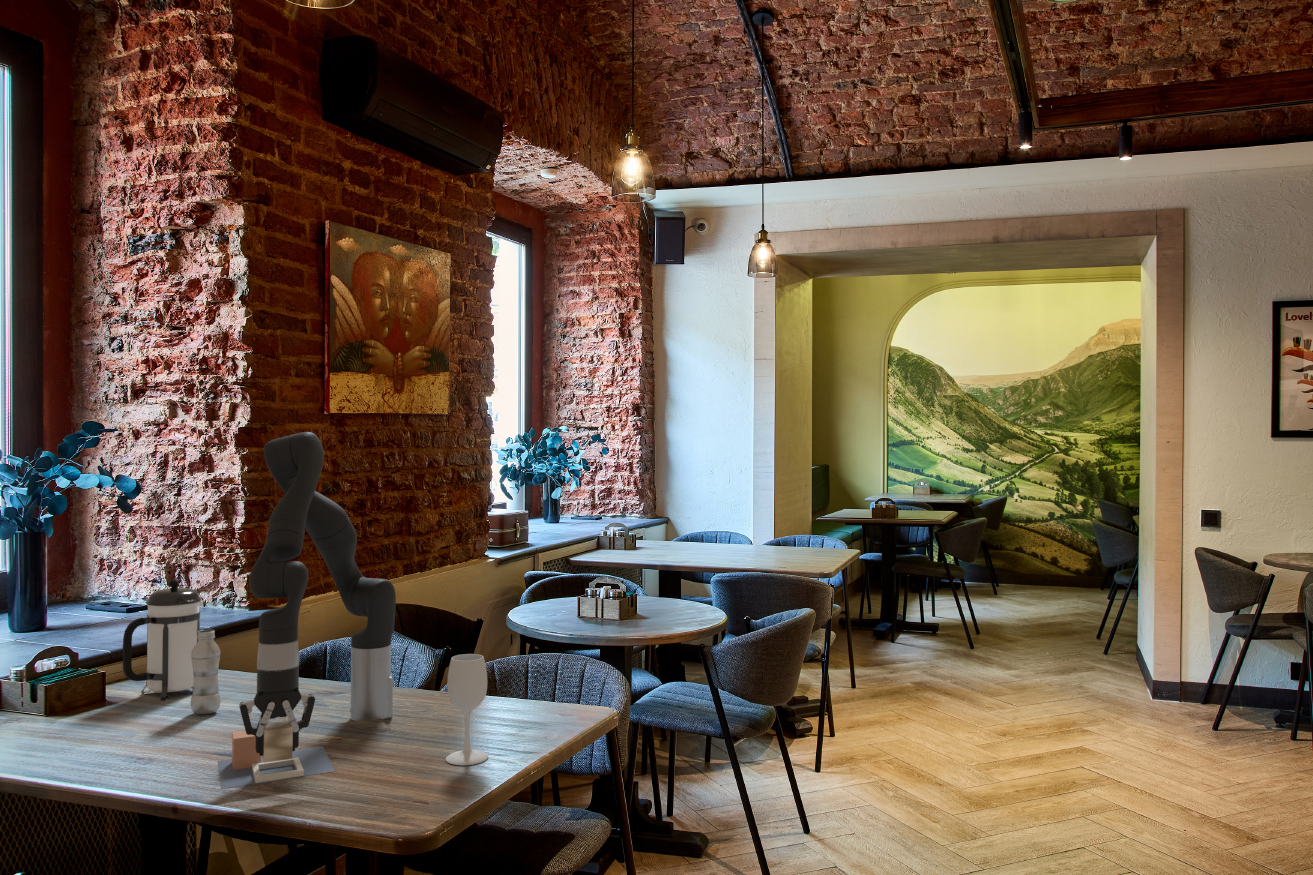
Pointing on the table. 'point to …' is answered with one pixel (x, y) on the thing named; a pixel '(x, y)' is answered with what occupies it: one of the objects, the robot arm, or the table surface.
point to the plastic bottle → (205, 674)
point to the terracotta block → (244, 750)
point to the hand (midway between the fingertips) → (277, 751)
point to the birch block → (278, 741)
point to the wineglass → (467, 700)
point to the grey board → (276, 768)
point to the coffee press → (167, 640)
